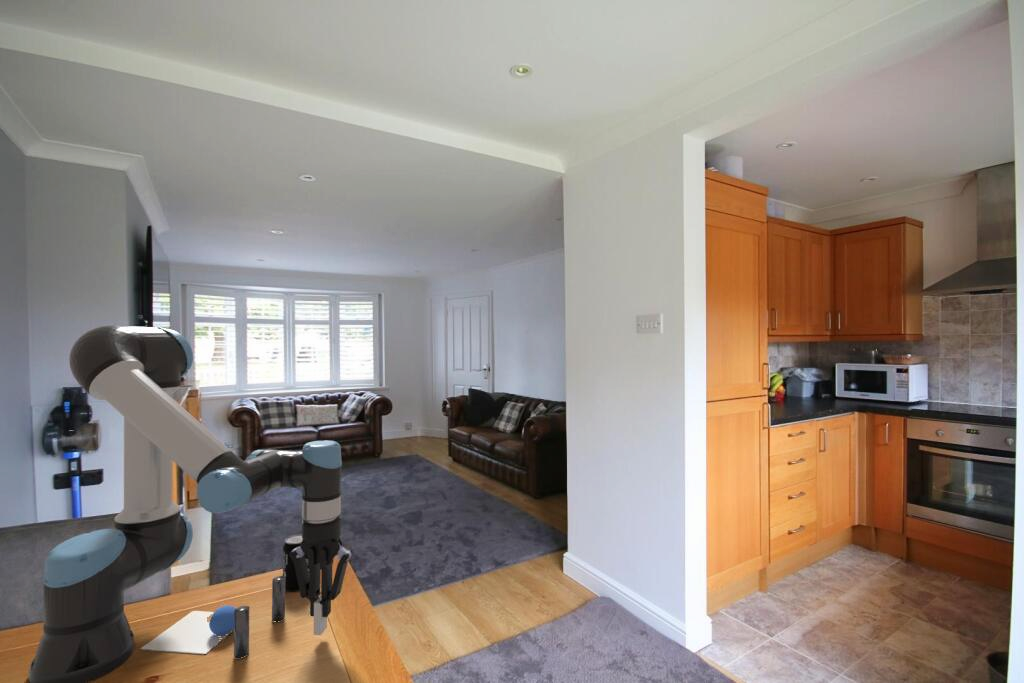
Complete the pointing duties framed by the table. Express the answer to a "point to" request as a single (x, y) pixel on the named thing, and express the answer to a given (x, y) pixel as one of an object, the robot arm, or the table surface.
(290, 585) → the beverage can
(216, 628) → the ball
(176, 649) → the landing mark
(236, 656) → the post
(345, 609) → the table surface
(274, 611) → the post
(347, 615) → the table surface
